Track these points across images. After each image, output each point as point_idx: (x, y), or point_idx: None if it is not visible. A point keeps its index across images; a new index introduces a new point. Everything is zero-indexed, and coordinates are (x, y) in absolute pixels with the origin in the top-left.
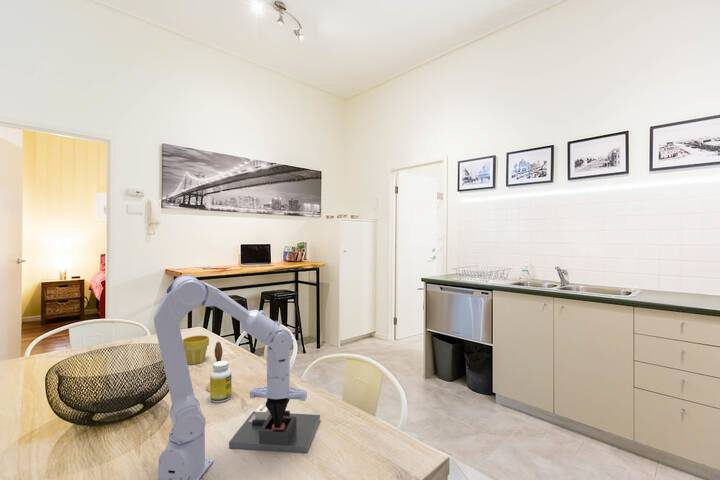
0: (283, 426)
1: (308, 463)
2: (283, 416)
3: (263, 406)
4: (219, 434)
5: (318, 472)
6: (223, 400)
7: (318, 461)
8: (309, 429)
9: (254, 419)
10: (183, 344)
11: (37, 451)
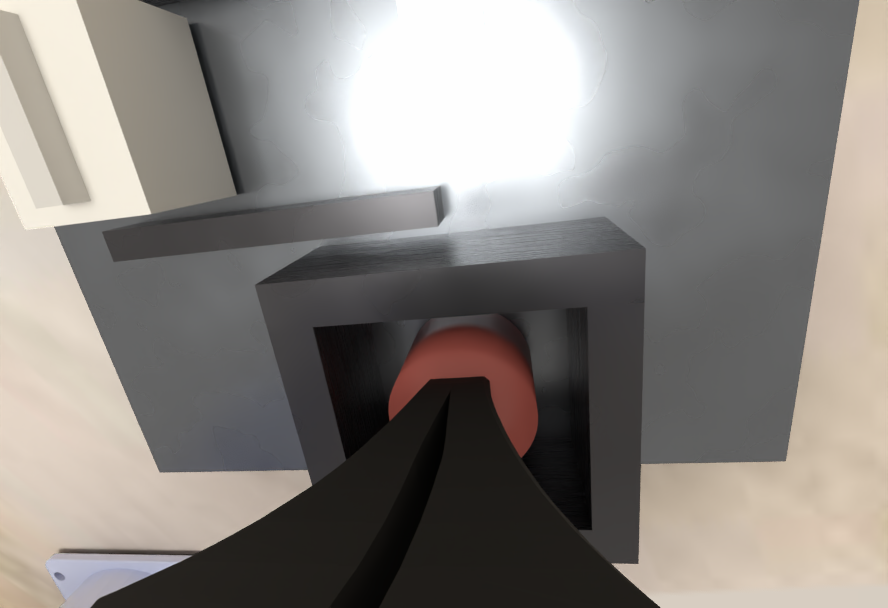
0: (526, 424)
1: (786, 516)
2: (497, 415)
3: (26, 124)
4: (11, 327)
5: (872, 578)
6: None
7: (865, 494)
8: (766, 194)
9: None
10: None
11: None
